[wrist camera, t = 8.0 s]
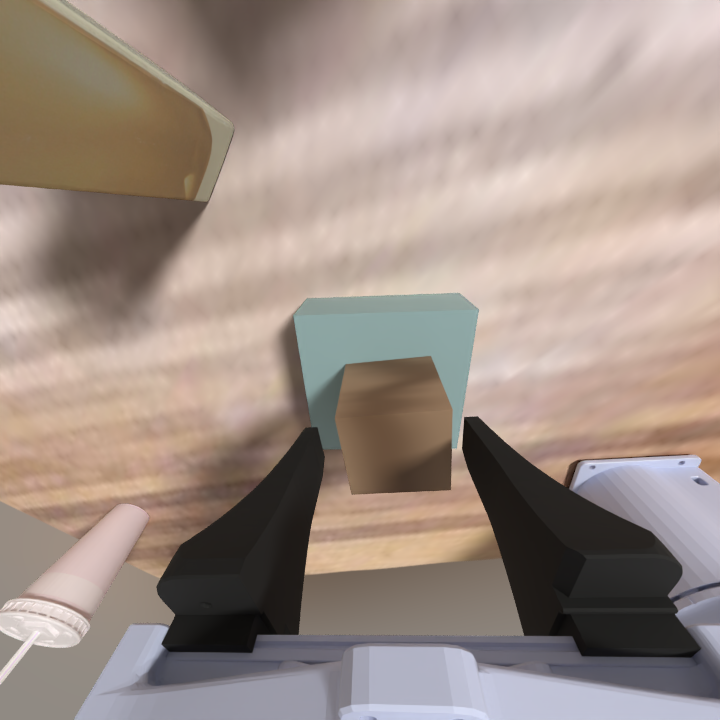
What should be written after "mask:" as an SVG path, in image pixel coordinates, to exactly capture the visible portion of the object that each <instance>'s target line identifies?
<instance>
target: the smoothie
mask: <svg viewBox="0 0 720 720" xmlns="http://www.w3.org/2000/svg"><path fill="white" fill-rule="evenodd" d="M148 521H149V515H148V514H147V512H146V511H144V510H143V509H142V508H140V507H138V506H135V505H132V504H126V503H123V504H118V505H116V506H115V507H114V508H113V509H112V510H111V511H110V512H109V513H108V514H107V515H106V516H105V517H103V518H102V519H101V520H100V521H99V522H98V523H97V524H96V525H95V526H94V527H93V528H92V529H90V530H89V531H88V532H87V533H86V534H85V535H84V536H83V537H82V538H81V539H80V540H79V541H78V542H76V543H75V544H74V545H73V546H72V547H71V548H70V549H69V550H68V551H67V552H66V553H65V554H64V555H62V556H61V557H60V558H59V559H58V560H57V561H56V562H55V563H54V564H53V565H52V566H51V567H49V569H47V570H46V571H45V572H44V573H43V574H42V575H41V576H40V577H39V578H37V579H36V580H35V581H34V582H33V583H32V584H31V585H30V586H29V587H28V588H27V589H26V590H25V591H24V592H23V593H22V594H21V595H19V596H18V597H17V598H16V599H11V600H9V601H7V602H6V603H5V605H4V607H3V608H2V609H1V610H0V631H1V632H3V633H5V634H7V635H9V636H11V637H13V638H16V639H18V640H21V641H24V644H23V645H22V646H21V647H20V649H19V650H18V651H17V652H16V653H15V655H14V656H13V657H12V658H11V660H10V661H9V662H8V663H7V664H6V666H5V667H4V668H3V669H2V670H1V672H0V685H1V683H2V682H3V681H4V680H5V678H6V677H7V676H8V675H9V673H10V672H11V671H12V670H13V668H14V667H15V666H16V665H17V663H18V662H19V661H20V660H21V658H22V657H23V656H24V655H25V653H26V652H27V651H28V649H29V648H30V647H31V646H32V644H35V645H40V646H45V647H53V648H67V647H72V646H75V645H76V644H78V643H79V642H80V641H81V639H82V638H83V636H84V635H85V633H86V632H87V631H88V630H89V629H90V620H91V618H92V616H93V615H94V613H95V611H96V610H97V608H98V606H99V605H100V603H101V601H102V600H103V598H104V596H105V594H106V593H107V591H108V589H109V587H110V586H111V584H112V582H113V581H114V579H115V577H116V576H117V574H118V572H119V570H120V569H121V567H122V565H123V564H124V562H125V560H126V559H127V557H128V555H129V553H130V552H131V550H132V548H133V547H134V545H135V543H136V541H137V540H138V538H139V536H140V535H141V533H142V531H143V530H144V528H145V526H146V524H147V523H148Z"/></svg>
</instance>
